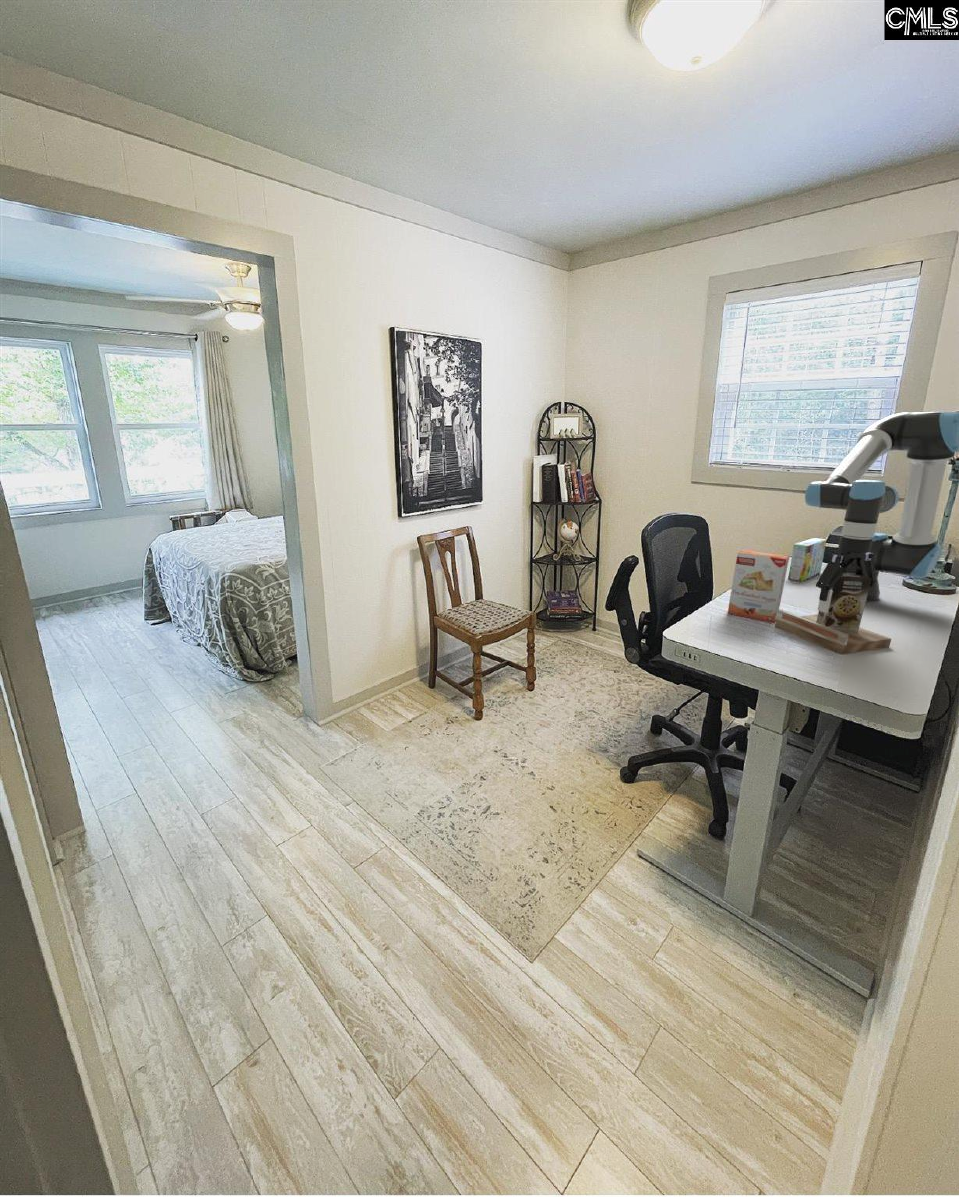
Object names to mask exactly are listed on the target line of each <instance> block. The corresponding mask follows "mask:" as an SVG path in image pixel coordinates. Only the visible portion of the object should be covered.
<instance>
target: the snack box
mask: <svg viewBox="0 0 959 1197" xmlns="http://www.w3.org/2000/svg"><path fill="white" fill-rule="evenodd" d="M826 544H827V539H826V538H819V537H818V538H817V537H816V538H815V537H813V538H810V539H809V538H808V539H807V540H803V541H800V542H797V543H794V544H793V547H792V554H791V560H790V567H789V570H788V571H789V572H788V576H787V577H788V578H787V580H791V581H796V580H798V581H797V582H802V580H803V581H805V580H807V578H808V579H810V578H812V577H811V576H813V577H815V576H817V575H816V574H818V573H820V574H822V573H821V571H822V566H823V560H824V554H825V549H826ZM814 575H815V576H814ZM818 575H819V574H818ZM809 577H810V578H809Z"/></svg>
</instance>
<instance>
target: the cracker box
mask: <svg viewBox="0 0 959 1197" xmlns="http://www.w3.org/2000/svg"><path fill="white" fill-rule="evenodd" d="M789 561H790V556H789V555H783V554H777V553H767V552H760V551H753V550H746V549H741V550H739V551H738V552H737V556H736V560H735V566H734V572H733V578H732V585H731V591H730V596H729V603H728V609H727V614H730V615H734V616H738V617H739V616H740V617H745V618H750V619H755V620H759V621H764V622H769V623H776V618H777V612H778V610H780V607H781V601H782V597H783V593H784V588H785V587H784V585H785V581H786V577H787V571H788V567H789V566H788V565H789Z"/></svg>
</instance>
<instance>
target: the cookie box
mask: <svg viewBox="0 0 959 1197" xmlns="http://www.w3.org/2000/svg"><path fill="white" fill-rule="evenodd" d="M870 583H871V578H869V577H867V576H865V575H860V574H856V573H844V574H843V575H842V576H841V577H840V579H839V580H838V581H837V582H836V583H835V585H834V586H833V587H832V588H831V589H830V590H832V591H833V592H832V596H831V601H830V605H829V610H828V613H825V612H822V611H819V610H818V613H817V614H818V617H817V621H816V623H819V624H821V625H824V626H827V627H829V628H832V629H835V630H837V631H849V632H858V631H859V627H860V628H861V623H862V618H863V615H864V614H863V613H864V610H865V605H866V603H867V601H866V599H867V595H868V591H869V587H870ZM827 586H828V585H827Z"/></svg>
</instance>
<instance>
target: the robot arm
mask: <svg viewBox="0 0 959 1197" xmlns="http://www.w3.org/2000/svg"><path fill="white" fill-rule="evenodd" d="M889 451H905V452H906V459H907V460H908V461H910V464H911V465H910V469H909V475H908V480H907V485H906V492H905V497H904V504H903V507H902V509H903V510H902V513H901V514H902V515H901V518H900V524H899V531H897V533H895V534H894V535H893V536H892V538H889V535H888V533H882V532H881V533H880V532H876V530H877V525H878V520H879V516H880V514H882V513H886V512H889V511H890V510H892V509H894V508H895V506H897V504H898V503H899V499H900V498H899V496H900V495H899V492H898V490H897V489H896V488H895V487H892V486H889V485H887V483H886V482H885V481H883V480H876V479H875V480H874V479H862V478H863V477H864V475H865V474H866V473H867V472H868V471H869V469H870V468H871V467H872V466H873V465H874V463H876V461H877V460H878V459H879V457H882V456H884V455H886V454H887V453H888V452H889ZM958 452H959V411H947V410H943V411H919V412H916V411H915V412H907V411H906V412H899V413H895V414H891V415H889V416H887V417H884V418H883V419H880V420H878V421H877V422H875V423H873V424H872V425H870V426H868V428H866V429H865V430H864V431H863V432H862V433H861V434H860V436H859V437H858V439H857V441H856V445H855V446H854V447H853V448H852V449H851V450H850V451H849V452H848V454H847V455H846V456H845V457H844V458H843V460H842V461H841V462H840V463H839V464H838V465H837V466H836V468H834V469H833V471H832V472H831V473H830V474H829V475H828V476H827V477H826V478H825V479H824V481H821V480H820V481H812V482H810V483H809V484H808V485H807V488H806V489H805V493H804V494H805V495H804V498H805V499H804V501H805V503H806V505H807V506H810V507H815V508H819V509H821V508H822V509H833V510H844V511H846V512H845V513H844V514H845V515H844V519H843V525H842V529H841V535H842V536H840V537H839V542H838V547H837V549H839V550H840V554H839V555H837V554H833V553H832V554H830V557H829V561H828V563H827V564H826V566H825V568H824V569H823V572H822V573H820V576H819V577H818V580H817V582H816V583H815V587H817V588H818V589H820V593H819V598H818V599H819V602H818V606H817V611H818V612H819V611H822V612H825V613H828V610H829V605H830V601H831V596H832V592H833V591H832V590H830V589H831V588H832V587H833V586H834V585H835V583H836V582H837V581H838V580H839V579H840V577H841V576H842V575H843V574H844V573H856V574H860V575H865V576H867V577H869V578H871V583H870V587H869V591H868V595H867V599H866V602H867V601H878V600H879V598H880V595H881V592H880V583H879V573H880V572H884V573H889V574H894V575H900V576H906V577H909V578H911V577H912V578H918V579H919V578H920V579H923V578H926V577H928V576H929V575H930V574H931V573H932V571H933V570H934V568H935V566H936V564H937V563H938V561H939V558H940V557H941V553H942V548H943V547H942V546H941V545H940V544H937V537H936V536H935V535H933V530H934V524H935V521H936V520H935V519H936V515H937V509H938V505H939V501H940V495H941V490H942V486H943V480H944V476H945V472H946V466H947V462H948V461H950V460H951V459H953V458H954V457H955V455H956V453H958ZM827 585H828V586H827Z"/></svg>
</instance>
